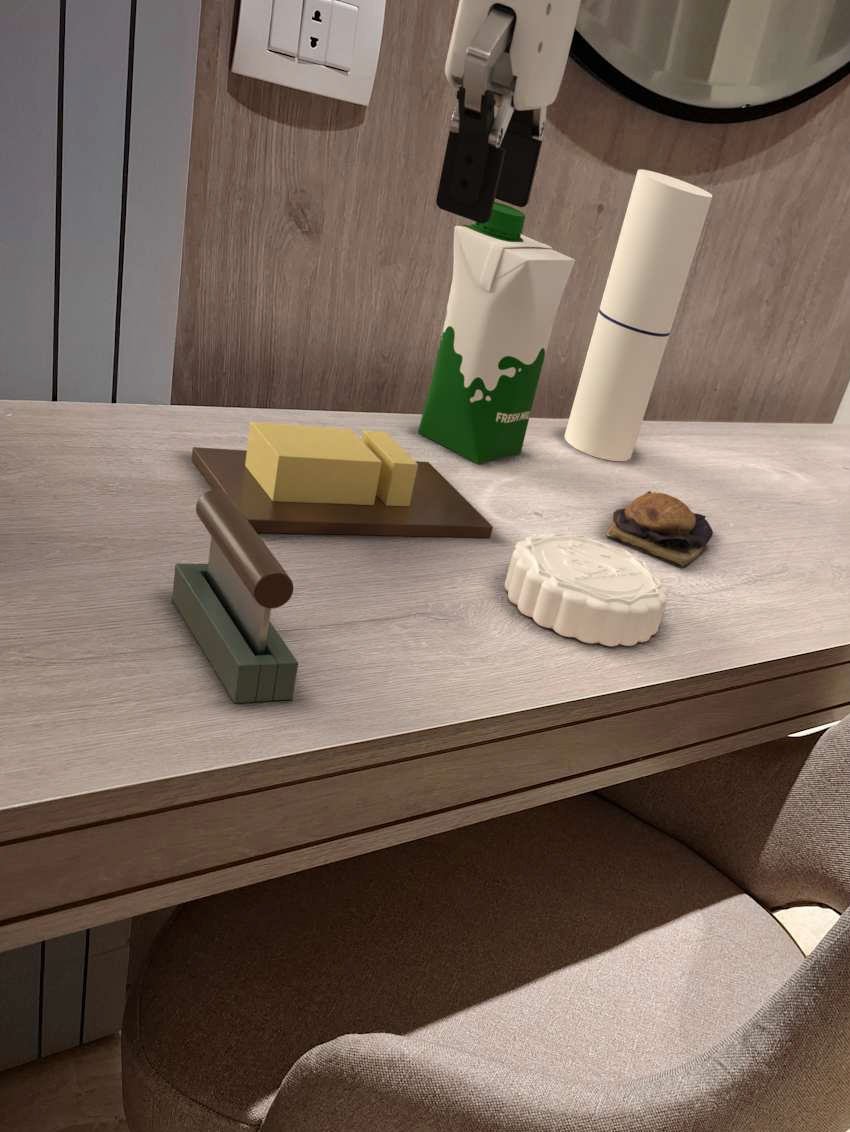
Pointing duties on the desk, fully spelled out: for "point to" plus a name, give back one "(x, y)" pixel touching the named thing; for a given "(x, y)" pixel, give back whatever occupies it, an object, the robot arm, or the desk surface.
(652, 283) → the cylindrical container
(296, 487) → the butter block
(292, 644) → the desk surface
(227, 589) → the butter cutter
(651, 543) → the open sandwich
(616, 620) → the mooncake
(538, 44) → the robot arm
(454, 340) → the milk carton
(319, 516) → the butter board
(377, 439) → the butter slice
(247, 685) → the holder
